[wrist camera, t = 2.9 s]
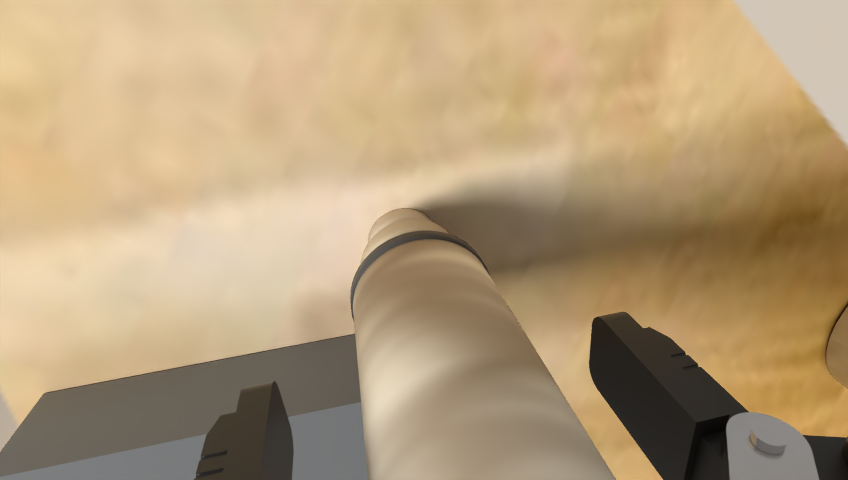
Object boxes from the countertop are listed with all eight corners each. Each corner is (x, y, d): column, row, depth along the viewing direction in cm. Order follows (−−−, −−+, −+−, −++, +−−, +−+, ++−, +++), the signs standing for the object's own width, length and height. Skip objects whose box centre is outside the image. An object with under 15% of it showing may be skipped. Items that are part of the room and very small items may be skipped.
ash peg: (454, 179, 18) (905, 767, 4) (461, 279, 20) (778, 908, 6) (336, 197, 18) (374, 951, 3) (355, 298, 20) (430, 1039, 5)
